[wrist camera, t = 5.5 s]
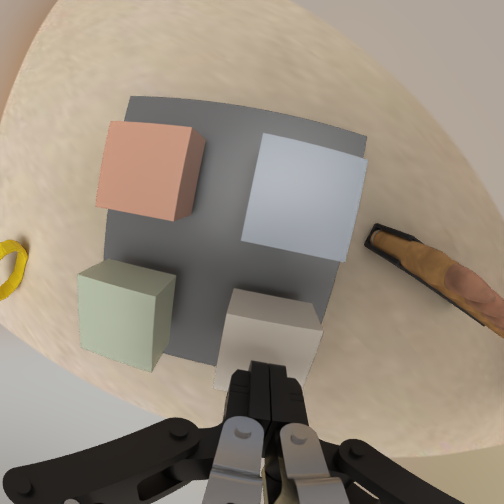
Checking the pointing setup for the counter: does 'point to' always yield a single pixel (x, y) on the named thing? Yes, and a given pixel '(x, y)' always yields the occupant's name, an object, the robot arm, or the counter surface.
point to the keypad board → (221, 222)
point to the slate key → (304, 198)
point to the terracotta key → (150, 169)
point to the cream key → (267, 336)
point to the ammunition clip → (440, 275)
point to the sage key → (125, 312)
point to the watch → (18, 272)
